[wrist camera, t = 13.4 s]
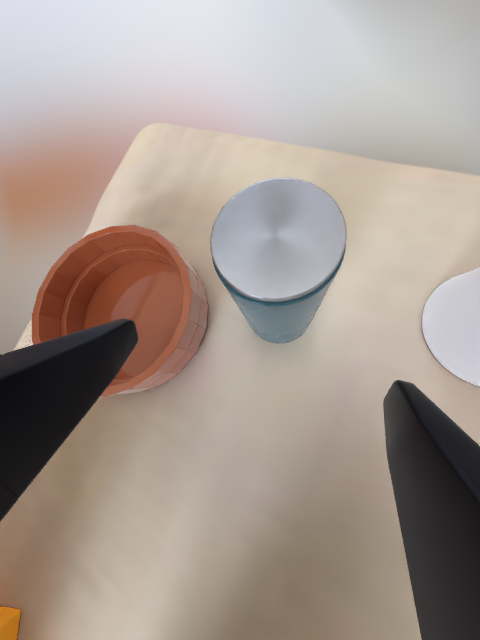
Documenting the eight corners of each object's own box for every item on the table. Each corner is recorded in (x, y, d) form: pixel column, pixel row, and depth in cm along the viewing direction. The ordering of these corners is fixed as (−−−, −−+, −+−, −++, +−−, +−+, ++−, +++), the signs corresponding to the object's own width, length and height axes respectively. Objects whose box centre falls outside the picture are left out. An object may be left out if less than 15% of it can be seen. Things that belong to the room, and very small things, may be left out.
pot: (172, 416, 19) (141, 428, 15) (56, 358, 22) (2, 354, 18) (231, 274, 21) (218, 248, 17) (117, 239, 24) (81, 210, 20)
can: (281, 356, 19) (281, 332, 8) (236, 315, 20) (181, 245, 9) (324, 309, 19) (382, 221, 8) (276, 272, 21) (270, 154, 10)
